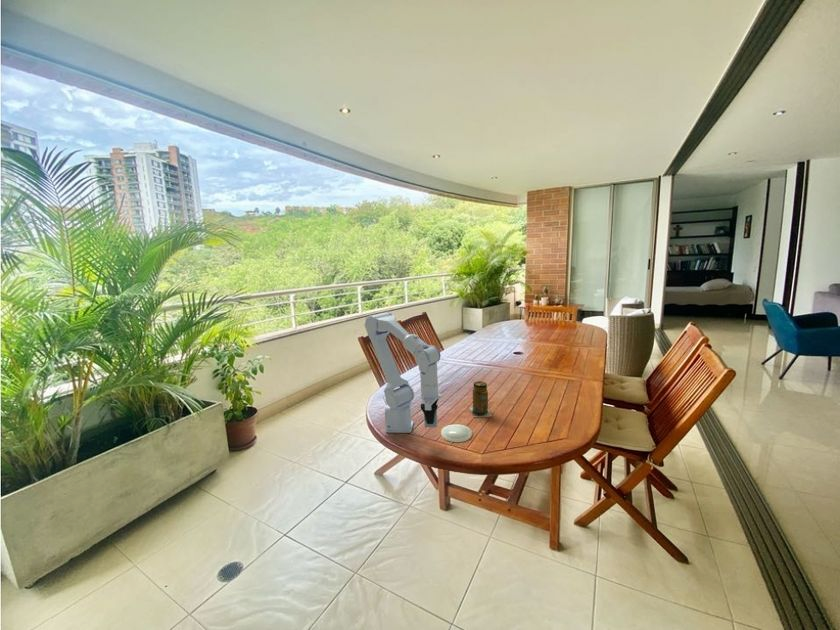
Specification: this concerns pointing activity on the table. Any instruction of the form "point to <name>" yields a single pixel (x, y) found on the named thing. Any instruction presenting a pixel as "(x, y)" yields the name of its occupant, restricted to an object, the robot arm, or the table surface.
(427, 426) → the block
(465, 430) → the dish
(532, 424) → the table surface
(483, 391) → the condiment
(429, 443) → the table surface
